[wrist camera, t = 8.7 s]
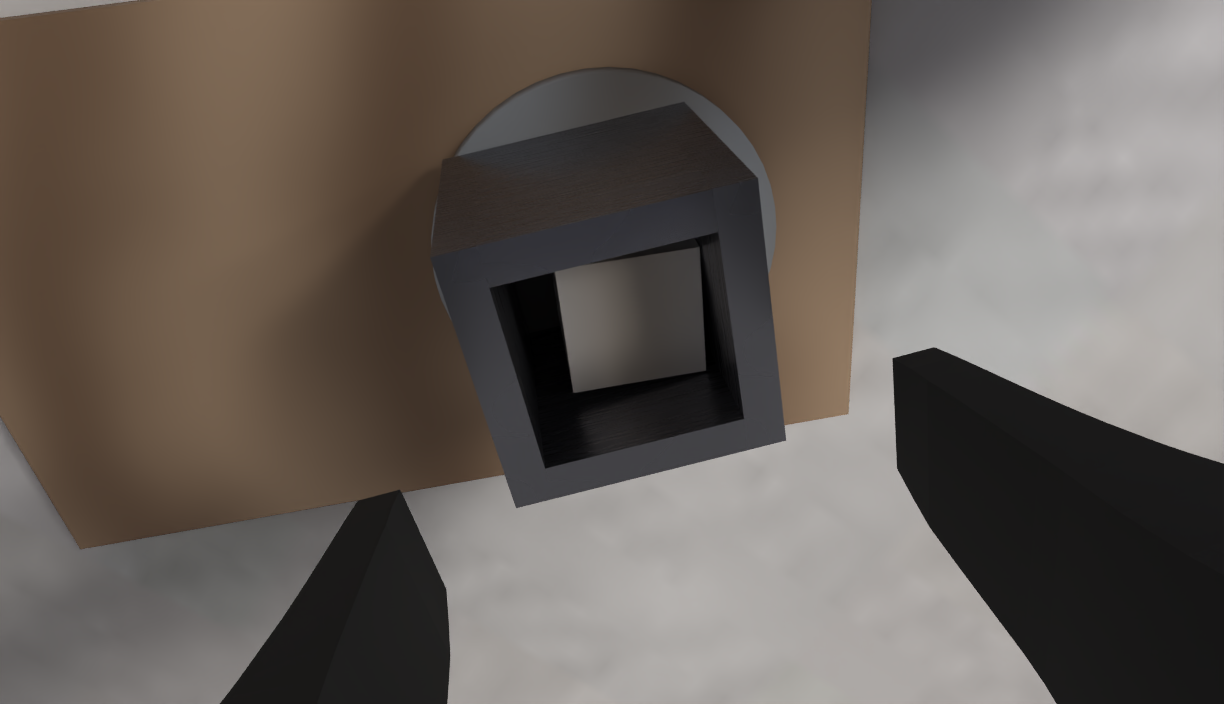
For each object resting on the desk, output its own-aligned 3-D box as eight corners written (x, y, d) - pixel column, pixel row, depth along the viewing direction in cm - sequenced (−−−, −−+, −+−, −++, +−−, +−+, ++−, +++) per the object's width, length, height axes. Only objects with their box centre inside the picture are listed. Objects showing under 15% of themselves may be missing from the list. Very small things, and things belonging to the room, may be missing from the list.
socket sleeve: (684, 101, 16) (758, 177, 12) (716, 314, 19) (785, 440, 15) (442, 159, 16) (430, 257, 12) (507, 365, 19) (516, 507, 14)
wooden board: (851, -94, 17) (986, -85, 12) (831, 390, 23) (916, 509, 18) (-174, 37, 15) (-436, 100, 11) (99, 517, 21) (2, 680, 17)
